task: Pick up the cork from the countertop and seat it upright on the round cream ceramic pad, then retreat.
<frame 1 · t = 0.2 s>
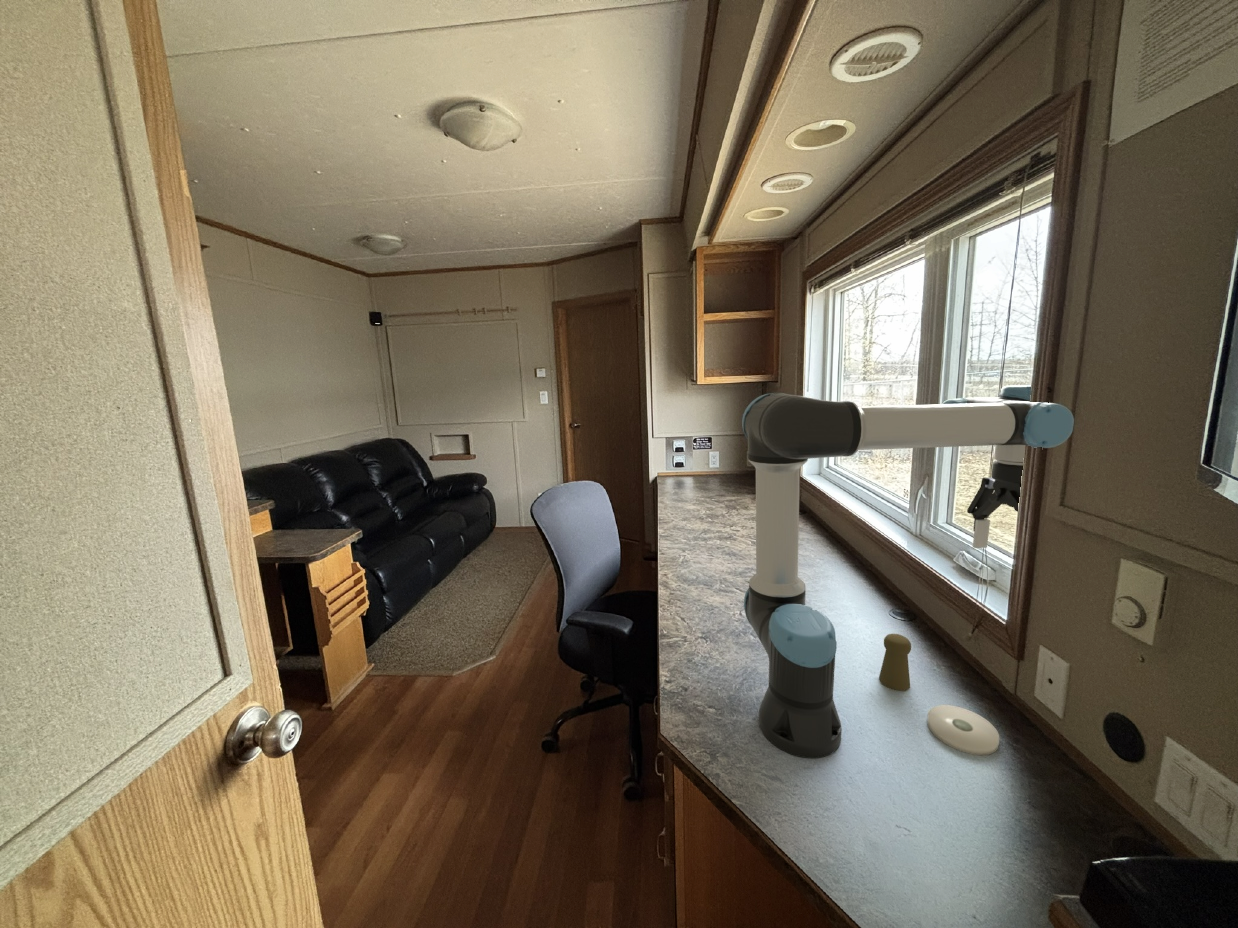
hand: (1004, 559, 100), 27 cm above the table, fingers open, 13 cm apart
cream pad: (961, 731, 89), on the table
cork: (894, 682, 104), on the table
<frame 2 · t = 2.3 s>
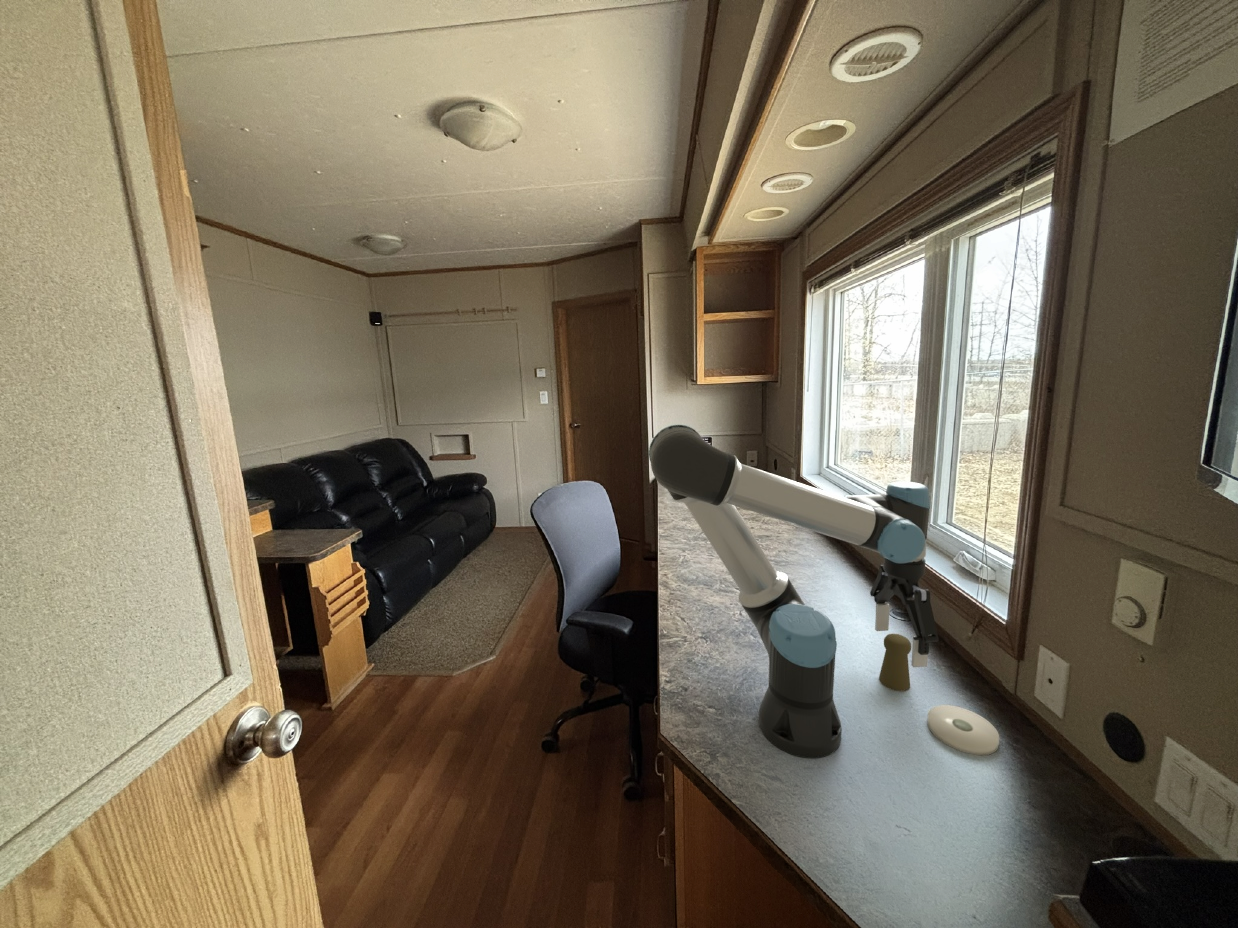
hand: (899, 646, 102), 9 cm above the table, fingers open, 13 cm apart
nothing on the table moved.
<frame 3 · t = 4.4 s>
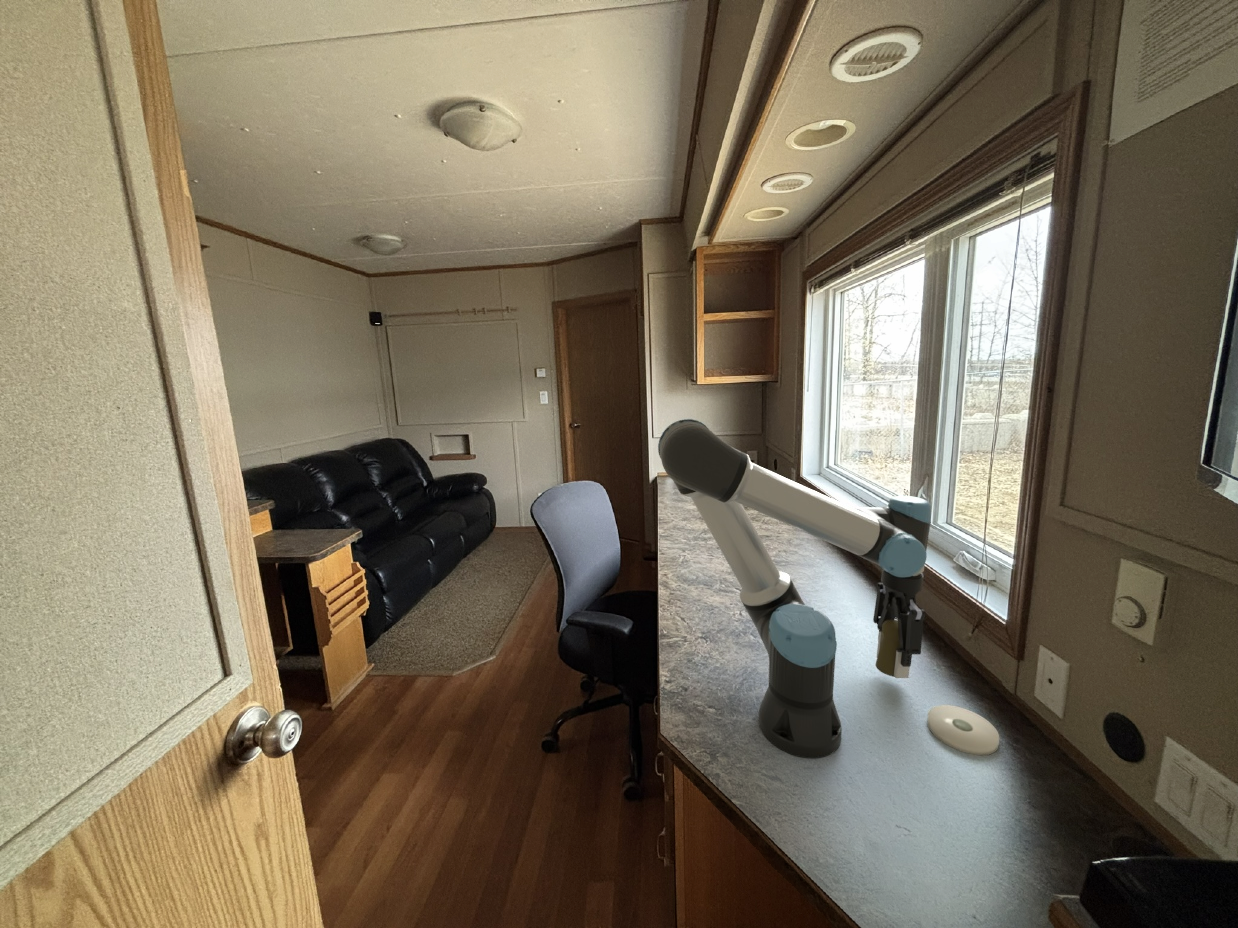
hand: (891, 666, 103), 4 cm above the table, fingers closed on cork, 6 cm apart
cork: (890, 669, 104), point 3 cm above the table, touching gripper
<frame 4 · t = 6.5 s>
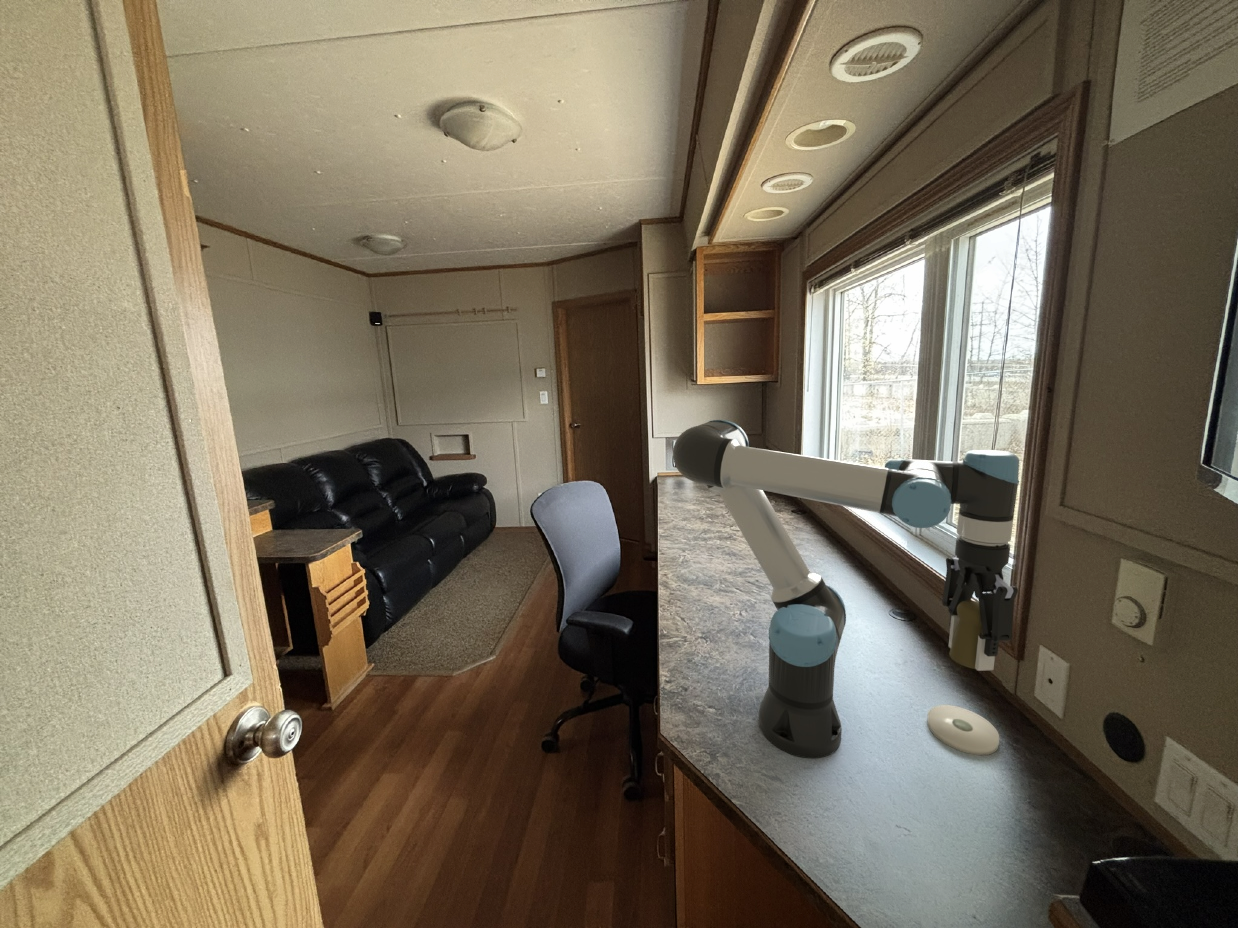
hand: (969, 657, 86), 16 cm above the table, fingers closed on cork, 6 cm apart
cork: (969, 660, 86), point 15 cm above the table, touching gripper
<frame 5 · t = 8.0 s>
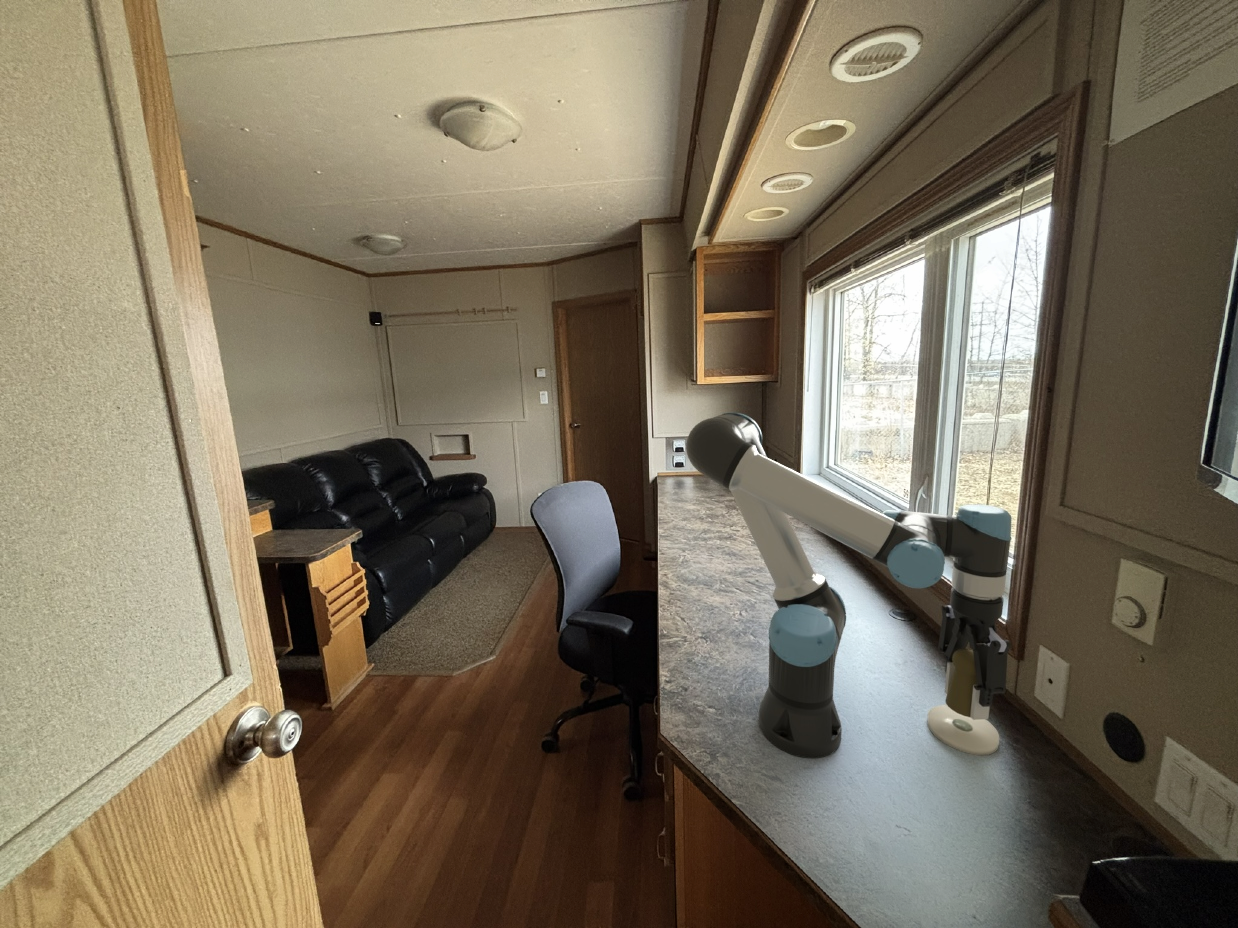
hand: (965, 704, 88), 6 cm above the table, fingers closed on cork, 6 cm apart
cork: (964, 707, 88), point 5 cm above the table, touching gripper
when the fingers open (3 cm above the table, at t = 9.0 s): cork stays where it is, resting on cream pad.
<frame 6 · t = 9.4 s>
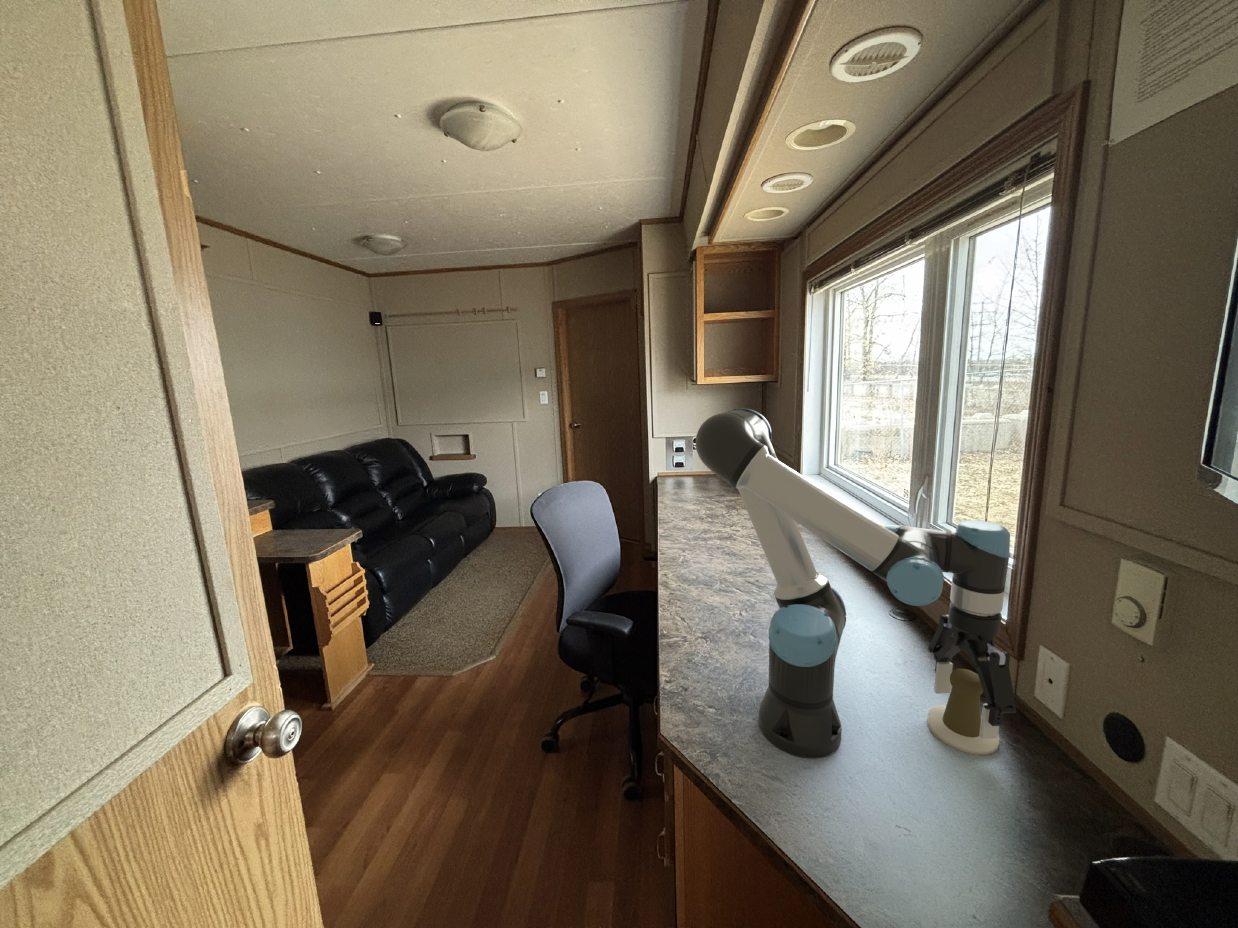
hand: (963, 713, 89), 4 cm above the table, fingers open, 11 cm apart
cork: (961, 725, 89), point 1 cm above the table, touching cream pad
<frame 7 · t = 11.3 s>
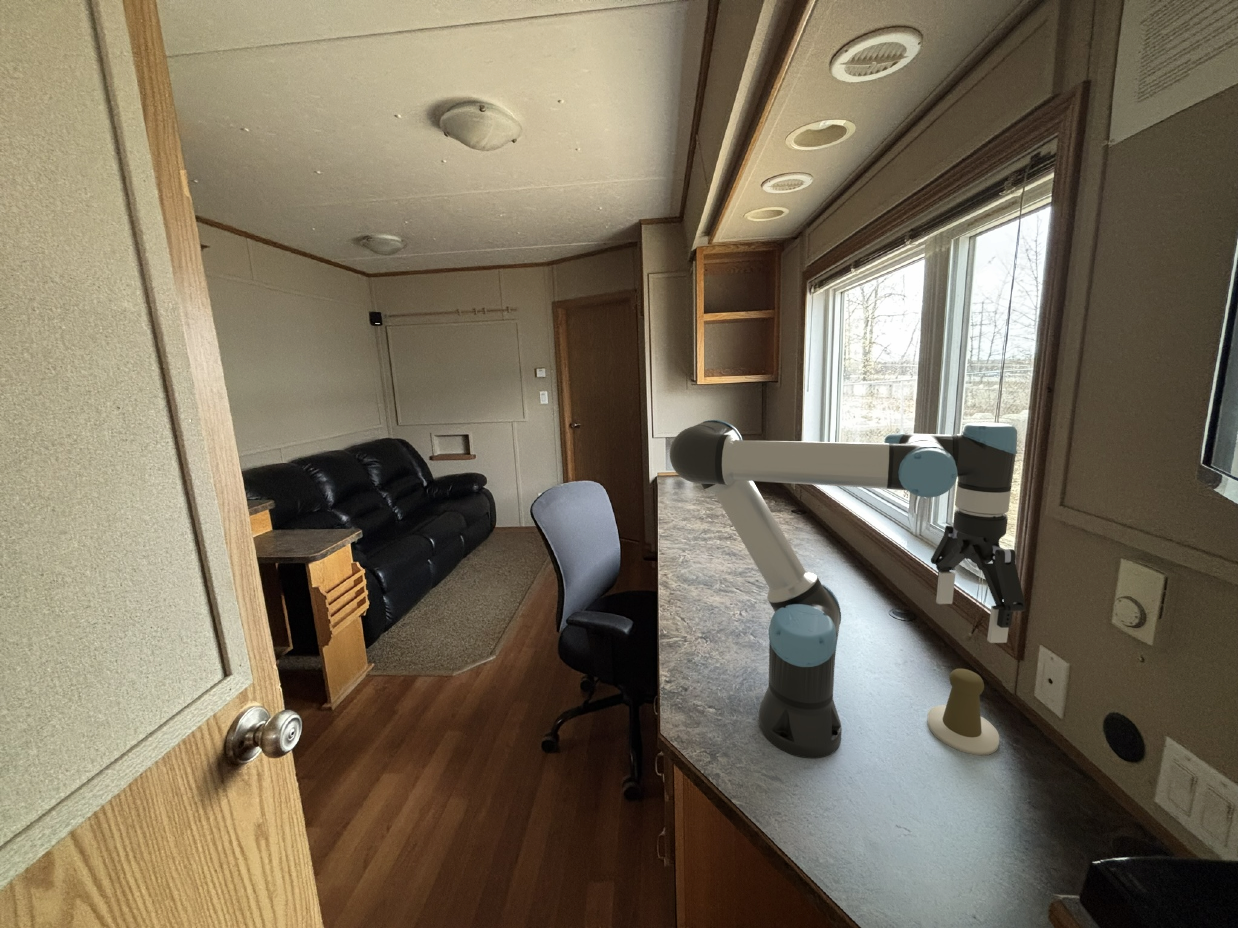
hand: (968, 620, 87), 22 cm above the table, fingers open, 13 cm apart
nothing on the table moved.
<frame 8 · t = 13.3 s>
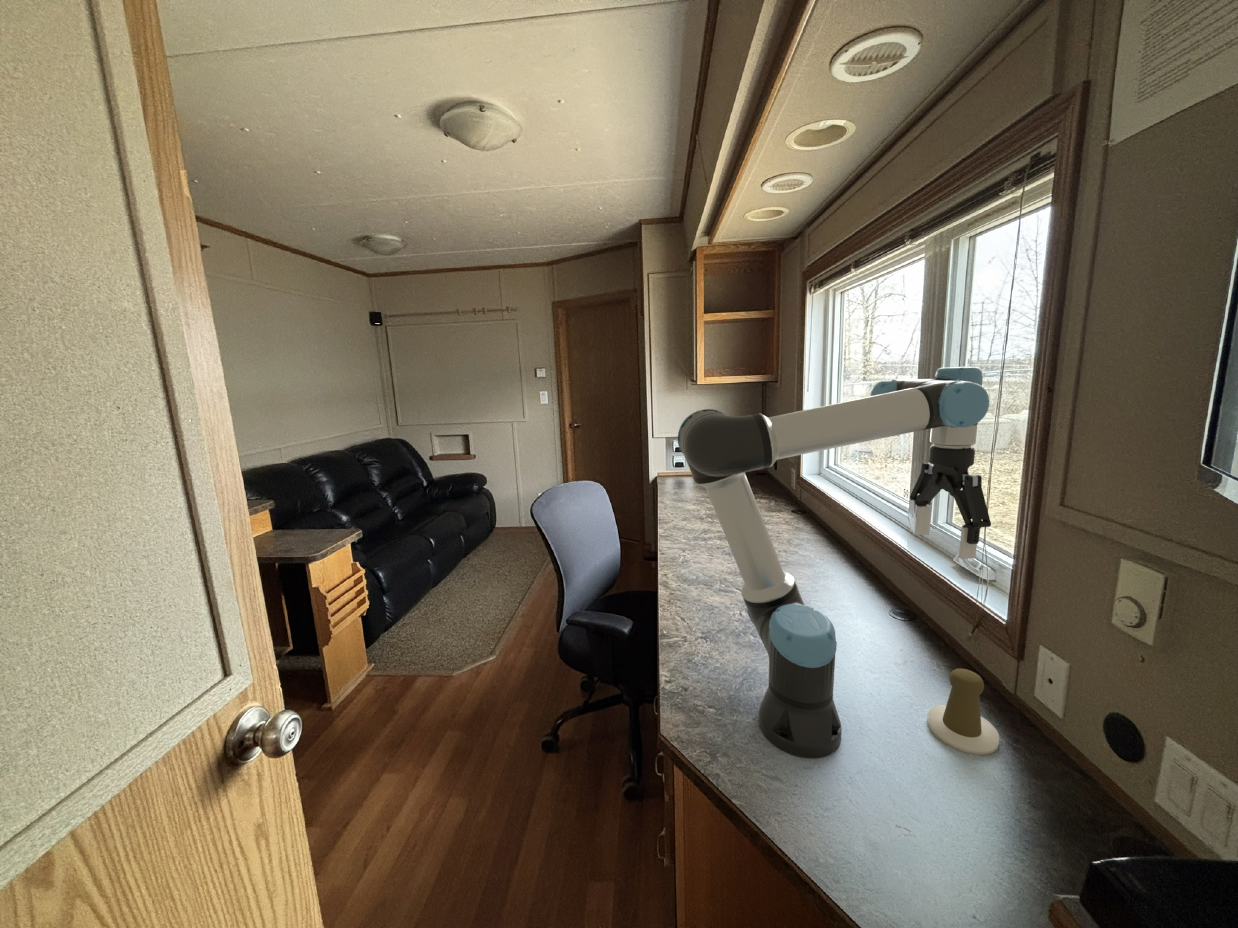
hand: (942, 545, 98), 32 cm above the table, fingers open, 13 cm apart
nothing on the table moved.
at the end: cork 0.2 cm from the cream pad (horizontally); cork tilted 0°; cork point 1.3 cm above the table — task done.
